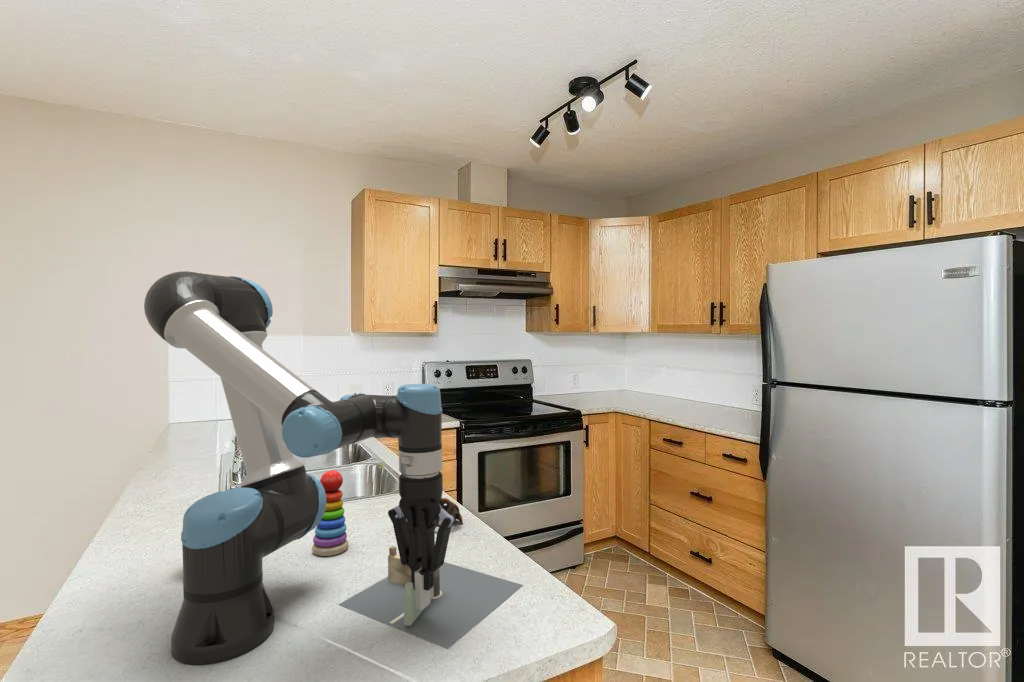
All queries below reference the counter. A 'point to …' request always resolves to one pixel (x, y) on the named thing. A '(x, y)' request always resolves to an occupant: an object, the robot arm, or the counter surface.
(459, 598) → the board
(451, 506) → the brown jagged ring
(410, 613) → the folding panel
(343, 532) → the stacking toy
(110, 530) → the counter surface
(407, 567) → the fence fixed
